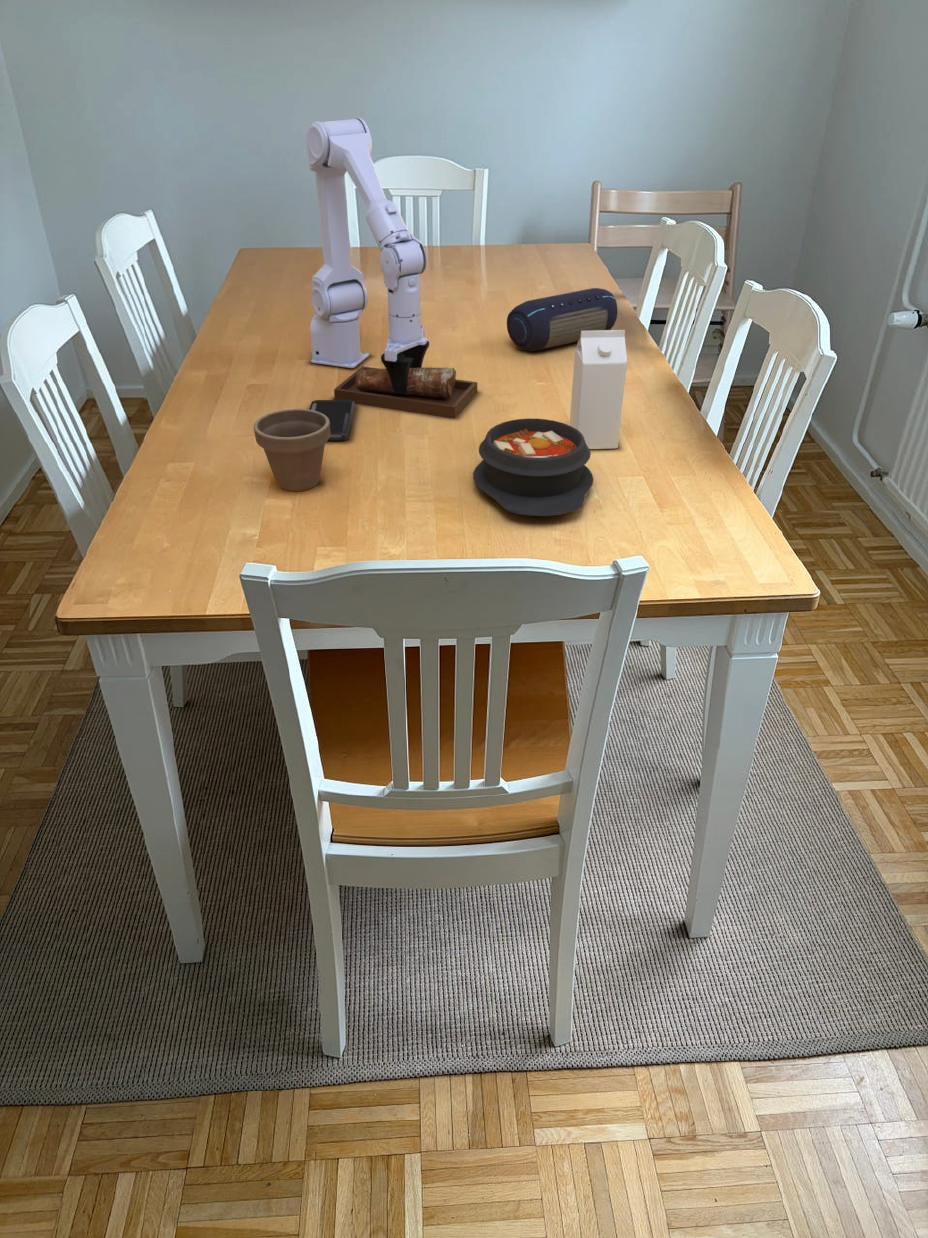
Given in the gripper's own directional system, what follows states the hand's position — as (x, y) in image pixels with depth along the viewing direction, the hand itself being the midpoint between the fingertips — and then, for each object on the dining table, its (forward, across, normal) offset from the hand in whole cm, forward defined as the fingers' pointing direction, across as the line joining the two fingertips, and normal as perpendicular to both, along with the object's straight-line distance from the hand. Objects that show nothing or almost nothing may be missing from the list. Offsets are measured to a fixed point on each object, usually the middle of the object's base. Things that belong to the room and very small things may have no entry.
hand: (406, 386), depth 176 cm
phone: (+2, -16, +8) cm, 18 cm away
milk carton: (+2, -7, -37) cm, 38 cm away
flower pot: (+2, -38, +3) cm, 38 cm away
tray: (+2, 0, 0) cm, 2 cm away
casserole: (+2, -27, -32) cm, 42 cm away
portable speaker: (+2, +39, -20) cm, 44 cm away
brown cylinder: (+2, -1, 0) cm, 2 cm away
